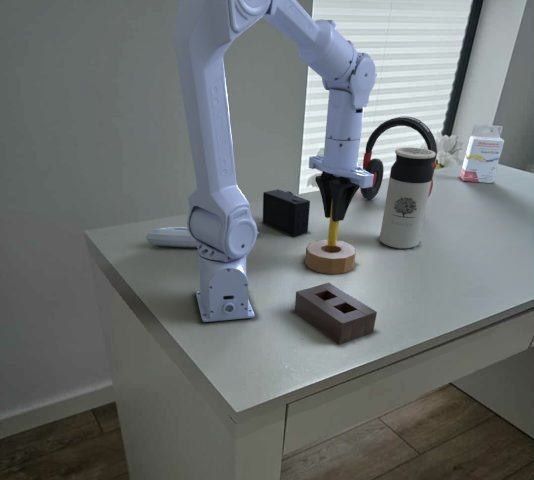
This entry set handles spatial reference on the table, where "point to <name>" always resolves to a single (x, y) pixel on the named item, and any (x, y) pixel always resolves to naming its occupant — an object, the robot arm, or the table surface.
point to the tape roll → (330, 257)
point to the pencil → (332, 231)
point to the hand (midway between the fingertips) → (334, 218)
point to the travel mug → (407, 197)
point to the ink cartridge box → (482, 154)
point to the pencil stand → (335, 312)
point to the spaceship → (172, 237)
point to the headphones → (376, 164)
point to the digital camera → (286, 212)
